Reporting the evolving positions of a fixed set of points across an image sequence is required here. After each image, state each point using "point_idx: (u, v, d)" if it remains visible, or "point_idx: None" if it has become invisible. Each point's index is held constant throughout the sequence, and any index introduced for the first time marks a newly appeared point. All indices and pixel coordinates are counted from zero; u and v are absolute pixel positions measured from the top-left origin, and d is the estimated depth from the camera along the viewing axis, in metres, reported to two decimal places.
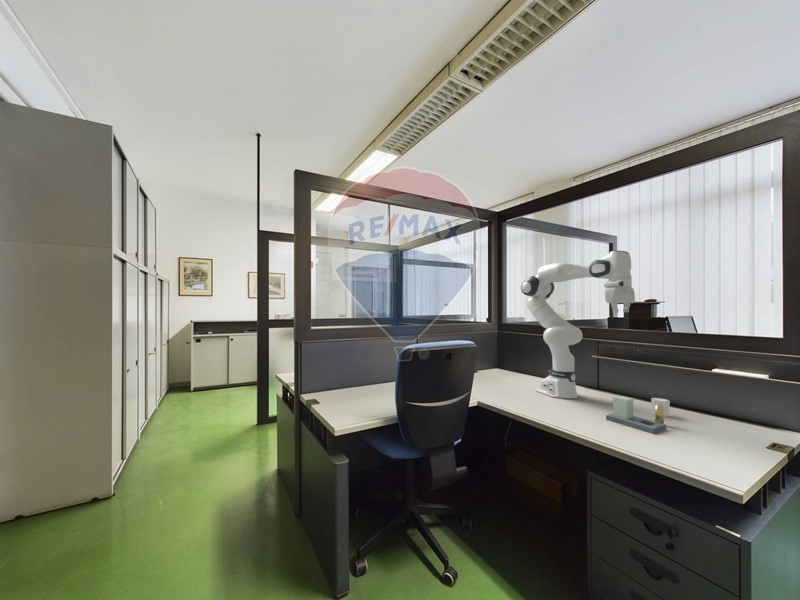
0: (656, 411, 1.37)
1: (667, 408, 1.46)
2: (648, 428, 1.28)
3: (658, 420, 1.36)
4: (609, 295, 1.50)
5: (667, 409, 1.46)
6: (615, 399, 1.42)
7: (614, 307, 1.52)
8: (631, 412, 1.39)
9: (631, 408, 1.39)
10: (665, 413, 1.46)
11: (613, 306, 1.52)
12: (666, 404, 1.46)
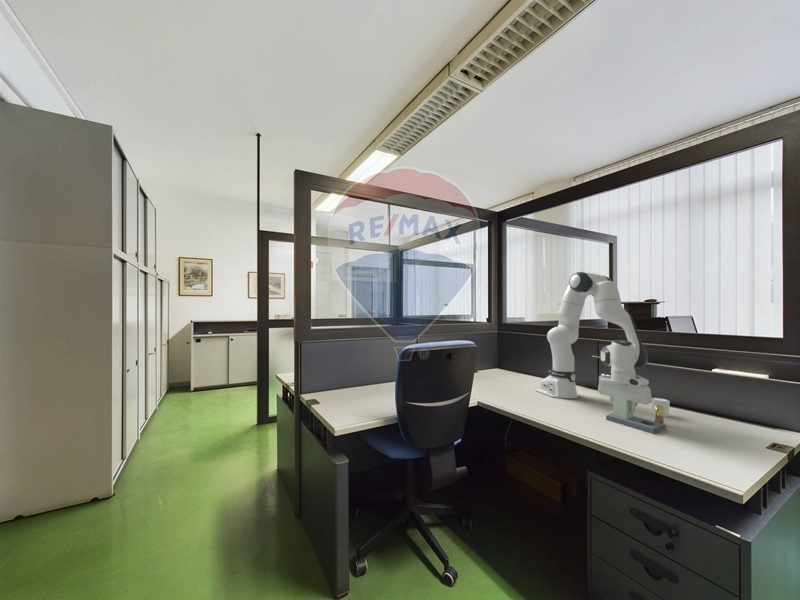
0: (656, 411, 1.37)
1: (667, 408, 1.46)
2: (648, 428, 1.28)
3: (658, 420, 1.36)
4: (649, 396, 1.33)
5: (667, 409, 1.46)
6: (615, 399, 1.42)
7: (634, 406, 1.37)
8: (631, 412, 1.39)
9: None
10: (665, 413, 1.46)
11: (635, 405, 1.37)
12: (666, 404, 1.46)
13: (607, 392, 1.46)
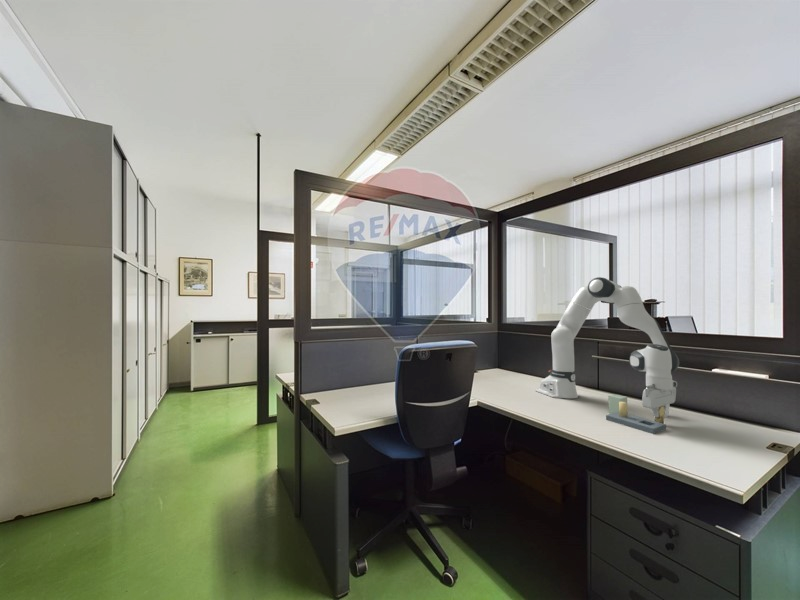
0: None
1: (667, 408, 1.46)
2: (648, 428, 1.28)
3: (658, 420, 1.36)
4: None
5: (667, 409, 1.46)
6: (610, 397, 1.51)
7: None
8: None
9: None
10: (665, 413, 1.46)
11: None
12: None
13: (657, 403, 1.33)
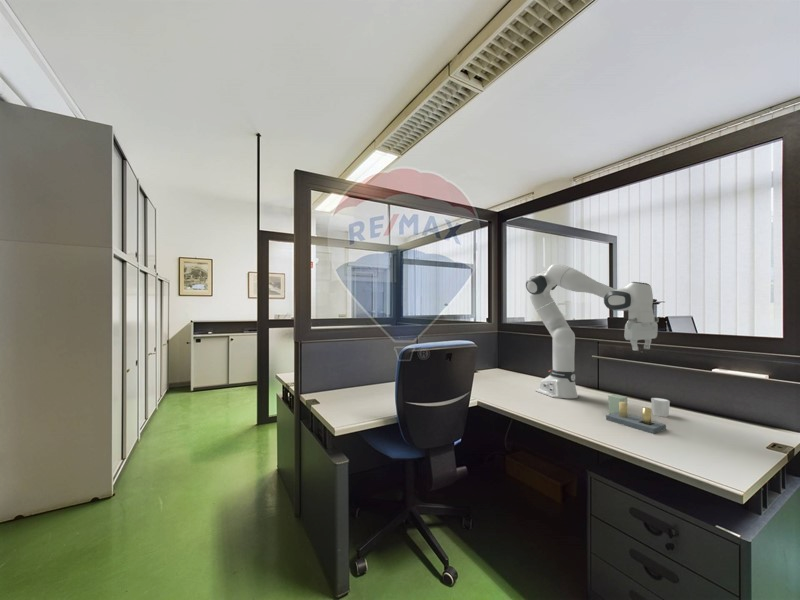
0: (643, 414, 1.33)
1: (667, 408, 1.46)
2: (648, 428, 1.28)
3: (645, 423, 1.32)
4: None
5: (667, 409, 1.46)
6: (610, 397, 1.51)
7: None
8: None
9: None
10: (665, 413, 1.46)
11: None
12: (666, 404, 1.46)
13: (638, 336, 1.38)
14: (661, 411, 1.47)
